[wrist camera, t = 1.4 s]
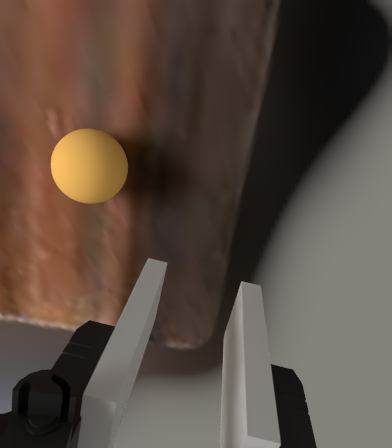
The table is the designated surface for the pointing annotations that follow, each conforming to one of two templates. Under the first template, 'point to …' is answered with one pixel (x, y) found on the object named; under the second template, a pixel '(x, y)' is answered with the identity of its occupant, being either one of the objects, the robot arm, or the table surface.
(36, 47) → the table surface
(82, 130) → the ball
